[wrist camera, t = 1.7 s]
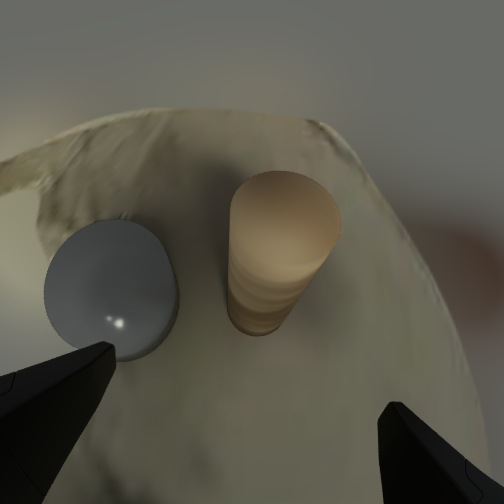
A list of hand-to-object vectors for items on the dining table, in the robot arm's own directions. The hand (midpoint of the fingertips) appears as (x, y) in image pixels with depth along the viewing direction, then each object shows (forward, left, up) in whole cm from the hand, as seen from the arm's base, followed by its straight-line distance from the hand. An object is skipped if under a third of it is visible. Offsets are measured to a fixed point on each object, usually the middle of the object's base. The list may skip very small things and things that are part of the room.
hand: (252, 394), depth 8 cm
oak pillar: (+6, +4, -13) cm, 15 cm away
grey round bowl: (-2, +11, -13) cm, 17 cm away
